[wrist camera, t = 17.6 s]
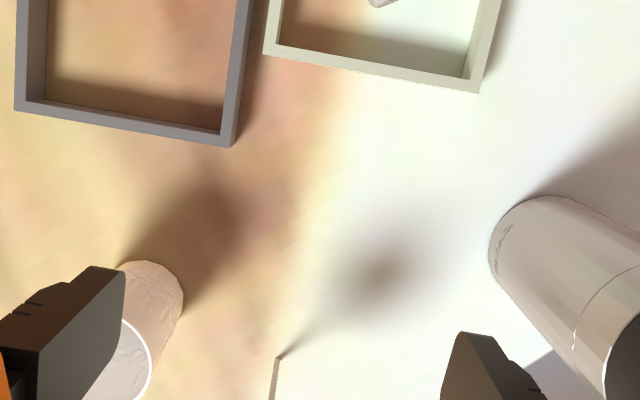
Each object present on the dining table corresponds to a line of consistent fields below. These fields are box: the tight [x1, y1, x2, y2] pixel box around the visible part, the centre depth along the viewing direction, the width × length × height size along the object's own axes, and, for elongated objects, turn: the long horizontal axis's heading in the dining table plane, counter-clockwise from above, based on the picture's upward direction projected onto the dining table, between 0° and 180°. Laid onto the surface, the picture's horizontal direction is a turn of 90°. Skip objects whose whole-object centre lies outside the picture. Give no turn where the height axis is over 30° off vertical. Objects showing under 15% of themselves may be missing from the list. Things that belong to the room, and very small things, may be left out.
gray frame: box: [14, 0, 254, 148], centre depth 35 cm, size 16×16×2 cm
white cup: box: [82, 260, 183, 400], centre depth 37 cm, size 8×8×10 cm
